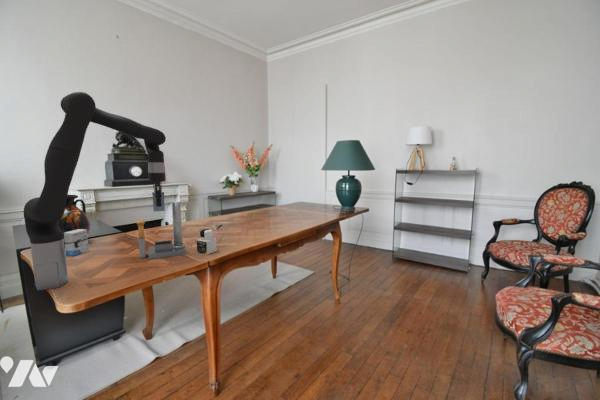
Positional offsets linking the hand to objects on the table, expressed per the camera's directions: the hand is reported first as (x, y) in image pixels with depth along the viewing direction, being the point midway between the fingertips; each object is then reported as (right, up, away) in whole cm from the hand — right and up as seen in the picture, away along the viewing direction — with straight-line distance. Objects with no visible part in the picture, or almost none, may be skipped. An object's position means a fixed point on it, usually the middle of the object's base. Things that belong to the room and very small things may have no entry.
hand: (158, 205), depth 139 cm
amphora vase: (-59, -23, +17) cm, 66 cm away
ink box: (-43, -25, +3) cm, 50 cm away
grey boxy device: (+22, -25, +6) cm, 34 cm away
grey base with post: (0, -25, +3) cm, 25 cm away
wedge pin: (-8, -19, -2) cm, 20 cm away
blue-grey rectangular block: (0, -2, 0) cm, 2 cm away
